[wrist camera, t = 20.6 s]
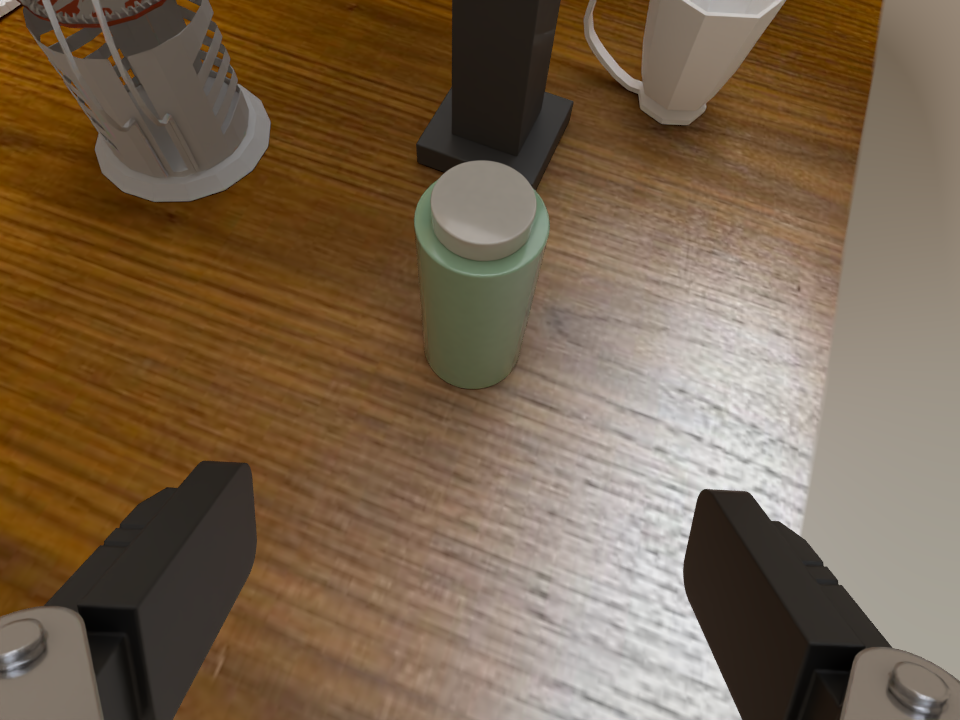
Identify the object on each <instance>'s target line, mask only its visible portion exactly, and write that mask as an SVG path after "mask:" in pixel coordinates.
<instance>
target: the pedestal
mask: <svg viewBox="0 0 960 720" xmlns="http://www.w3.org/2000/svg"><path fill="white" fill-rule="evenodd" d="M559 6H560V0H452V87H451V89H450V91H449V92H448V94H447V95H446V97H445V99H444V100H443V102H442V103H441V105H440V107H439V108H438V110H437V112H436V113H435V115H434V116H433V118H432V120H431V121H430V123H429V124H428V126H427V128H426V129H425V131H424V132H423V134H422V136H421V137H420V139H419V141H418V142H417V144H416V146H417V162H418V163H420V164H423V165H426V166H429V167H431V168H434V169H437V170H440V171H443V172H446V171H448V170H449V169H451V168H452V167H454V166H457V165H459V164H462V163H465V162H469V161H477V160H485V161H493V162H498V163H502V164H504V165H507V166H509V167H511V168H513V169H515V170H516V171H518V172H519V173H520V174H521V175H523V176H524V177H525V178H526V179H527V181H528V182H529V183H530V185H531V186H532V188H533V189H534V190H535V191H536V188H537V186H538V184H539V182H540V180H541V178H542V176H543V174H544V172H545V170H546V168H547V166H548V164H549V162H550V160H551V157H552V155H553V153H554V151H555V149H556V147H557V145H558V143H559V141H560V139H561V137H562V135H563V133H564V131H565V128H566V126H567V124H568V122H569V120H570V116H571V111H572V107H573V101H571V100H568V99H565V98H562V97H559V96H556V95H553V94H550V93H547V92H545V86H546V81H547V75H548V69H549V63H550V58H551V52H552V46H553V40H554V35H555V29H556V23H557V17H558V12H559Z"/></svg>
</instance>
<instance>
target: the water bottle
mask: <svg viewBox="0 0 960 720" xmlns="http://www.w3.org/2000/svg"><path fill="white" fill-rule="evenodd" d="M414 229H415V241H416V254H417V266H418V278H419V290H420V303H421V315H422V327H423V339H424V350H425V355H426V358H427V361H428V363H429V365H430V367H431V368H432V370H433V371H434V372H435V373H436V374H437V375H438V376H439V377H440V378H441V379H443V380H444V381H446V382H447V383H450V384H452V385H454V386H457V387H461V388H465V389H480V388H486V387H489V386H492V385H494V384H496V383H498V382H500V381H502V380H503V379H504V378H505V377H507V376H508V375H509V374H510V373H511V371H512V370H513V368H514V367H515V365H516V363H517V361H518V358H519V354H520V350H521V346H522V342H523V338H524V334H525V330H526V326H527V322H528V318H529V314H530V310H531V305H532V301H533V297H534V293H535V289H536V285H537V281H538V277H539V273H540V269H541V265H542V261H543V257H544V252H545V248H546V244H547V240H548V236H549V230H550V221H549V215H548V212H547V208H546V206H545V204H544V202H543V200H542V199H541V197H540V196H539V194H538V193H537V192H536V191H535V190H534V189H533V188H532V186H531V185H530V183H529V182H528V181H527V179H526V178H525V177H524V176H523V175H521V174H520V173H519V172H518V171H516V170H515V169H513V168H511V167H509V166H507V165H504V164H502V163H498V162H493V161H485V160H477V161H469V162H465V163H462V164H459V165H457V166H454V167H452V168H451V169H449V170H448V171H446V172H445V173H444V174H443V175H442V176H441V177H440V178H439V179H438V180H437V181H435V182H434V183H433V184H432V185H431V186H430V187H429V188H428V189H427V190H426V191H425V192H424V194H423V195H422V197H421V198H420V200H419V202H418V204H417V207H416V210H415V216H414Z"/></svg>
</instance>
